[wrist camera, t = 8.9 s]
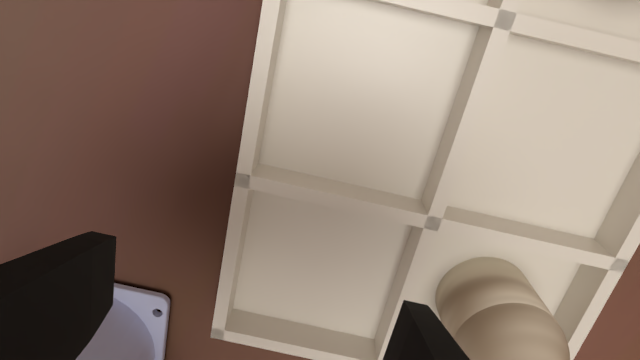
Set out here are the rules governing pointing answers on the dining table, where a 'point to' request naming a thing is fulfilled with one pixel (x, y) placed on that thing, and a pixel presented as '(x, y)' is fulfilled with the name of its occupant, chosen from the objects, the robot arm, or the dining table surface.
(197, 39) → the dining table surface
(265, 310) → the white compartment tray
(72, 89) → the dining table surface
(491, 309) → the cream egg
